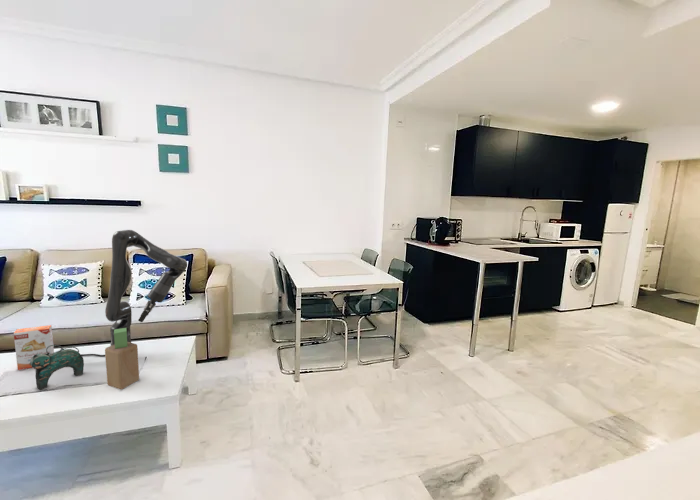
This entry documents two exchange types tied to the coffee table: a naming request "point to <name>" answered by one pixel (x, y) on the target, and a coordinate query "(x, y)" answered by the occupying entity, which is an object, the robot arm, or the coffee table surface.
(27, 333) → the cracker box
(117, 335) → the green block
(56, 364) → the ceramic cat
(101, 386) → the coffee table surface
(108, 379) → the wooden block
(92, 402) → the coffee table surface
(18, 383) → the coffee table surface
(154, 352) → the coffee table surface
